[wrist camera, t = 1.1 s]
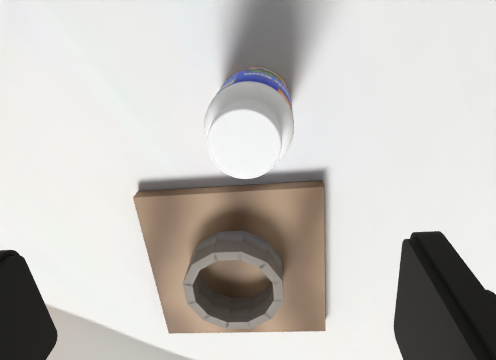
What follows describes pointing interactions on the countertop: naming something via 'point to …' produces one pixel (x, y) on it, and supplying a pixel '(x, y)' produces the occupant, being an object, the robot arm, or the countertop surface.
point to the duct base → (237, 256)
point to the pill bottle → (249, 123)
